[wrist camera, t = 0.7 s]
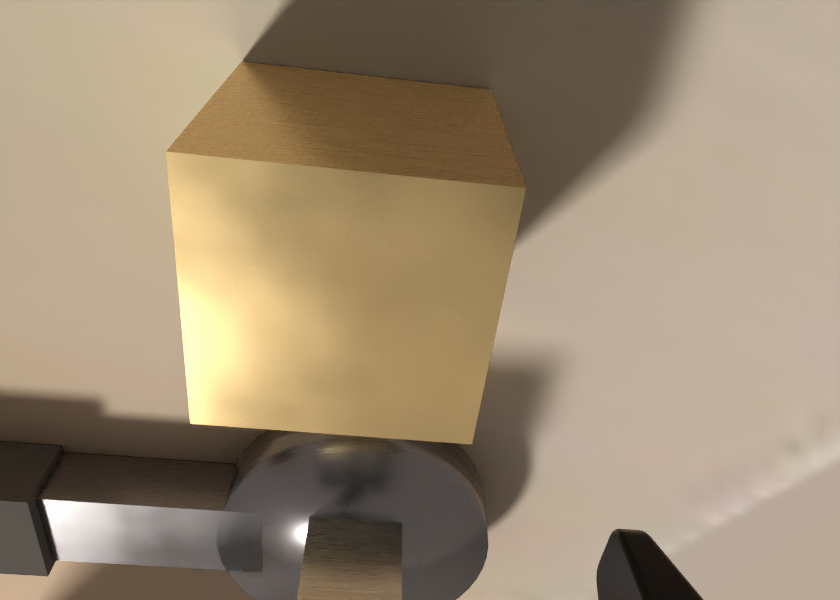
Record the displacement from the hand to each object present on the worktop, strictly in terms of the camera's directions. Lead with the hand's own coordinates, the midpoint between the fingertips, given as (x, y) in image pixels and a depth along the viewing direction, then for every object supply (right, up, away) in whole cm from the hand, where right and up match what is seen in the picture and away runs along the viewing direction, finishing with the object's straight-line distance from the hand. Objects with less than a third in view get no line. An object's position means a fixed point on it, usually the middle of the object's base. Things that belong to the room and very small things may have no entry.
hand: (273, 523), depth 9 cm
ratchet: (-8, -4, +15) cm, 18 cm away
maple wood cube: (0, +6, +9) cm, 11 cm away
